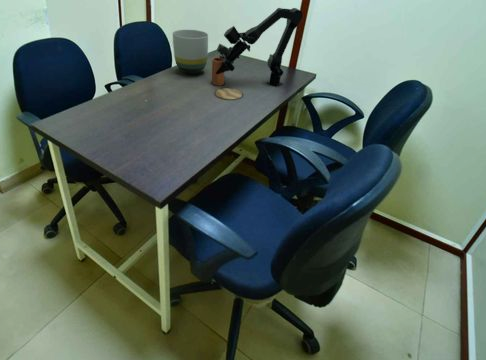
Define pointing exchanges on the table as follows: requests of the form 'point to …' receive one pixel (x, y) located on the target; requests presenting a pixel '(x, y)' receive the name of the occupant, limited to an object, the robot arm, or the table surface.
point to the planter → (190, 50)
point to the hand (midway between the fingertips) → (215, 71)
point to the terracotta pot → (216, 78)
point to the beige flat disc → (228, 93)
